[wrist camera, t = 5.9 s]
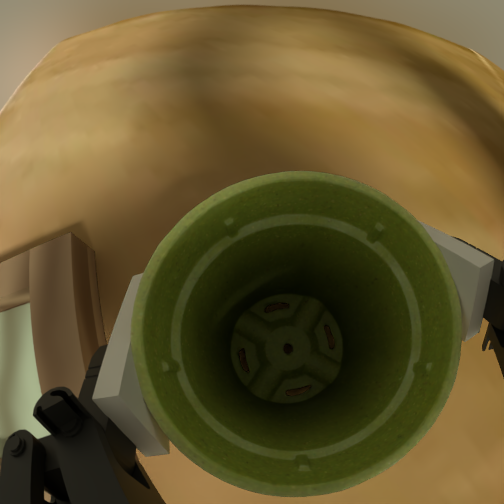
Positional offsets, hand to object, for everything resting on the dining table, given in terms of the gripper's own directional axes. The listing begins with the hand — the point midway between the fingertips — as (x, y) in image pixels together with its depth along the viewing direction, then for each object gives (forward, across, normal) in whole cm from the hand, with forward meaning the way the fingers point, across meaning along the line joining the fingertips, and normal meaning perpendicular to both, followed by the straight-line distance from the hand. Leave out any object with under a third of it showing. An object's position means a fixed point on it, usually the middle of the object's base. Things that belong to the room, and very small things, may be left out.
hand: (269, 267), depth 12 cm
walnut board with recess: (+2, -19, -5) cm, 20 cm away
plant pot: (+1, 0, -6) cm, 6 cm away
